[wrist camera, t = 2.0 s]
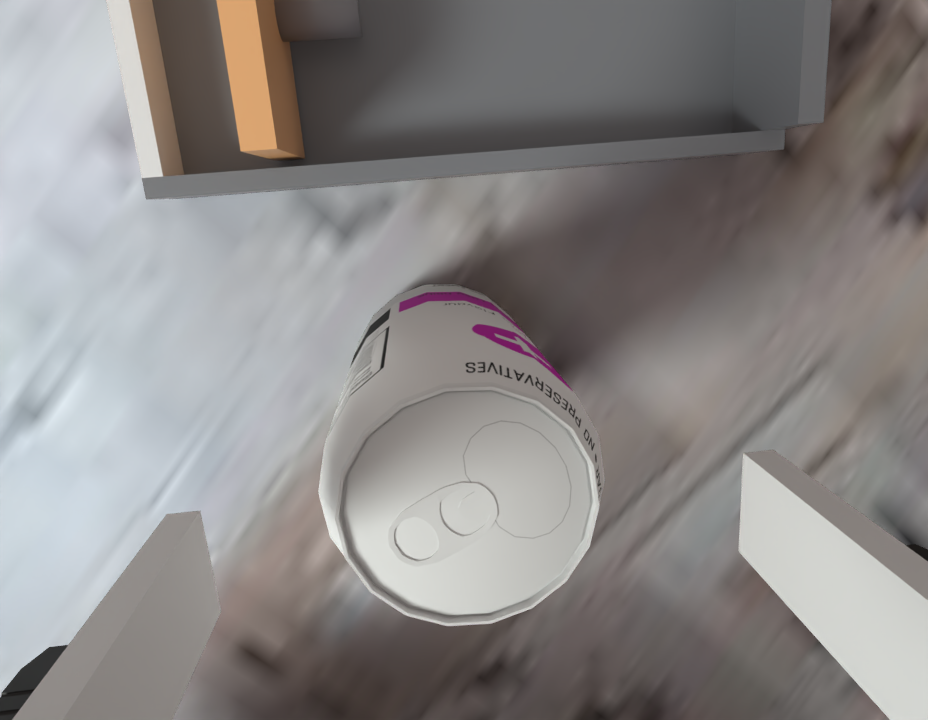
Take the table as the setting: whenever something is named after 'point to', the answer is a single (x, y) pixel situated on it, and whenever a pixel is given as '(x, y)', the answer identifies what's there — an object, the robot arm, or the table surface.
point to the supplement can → (458, 462)
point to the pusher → (275, 65)
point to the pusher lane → (477, 89)
